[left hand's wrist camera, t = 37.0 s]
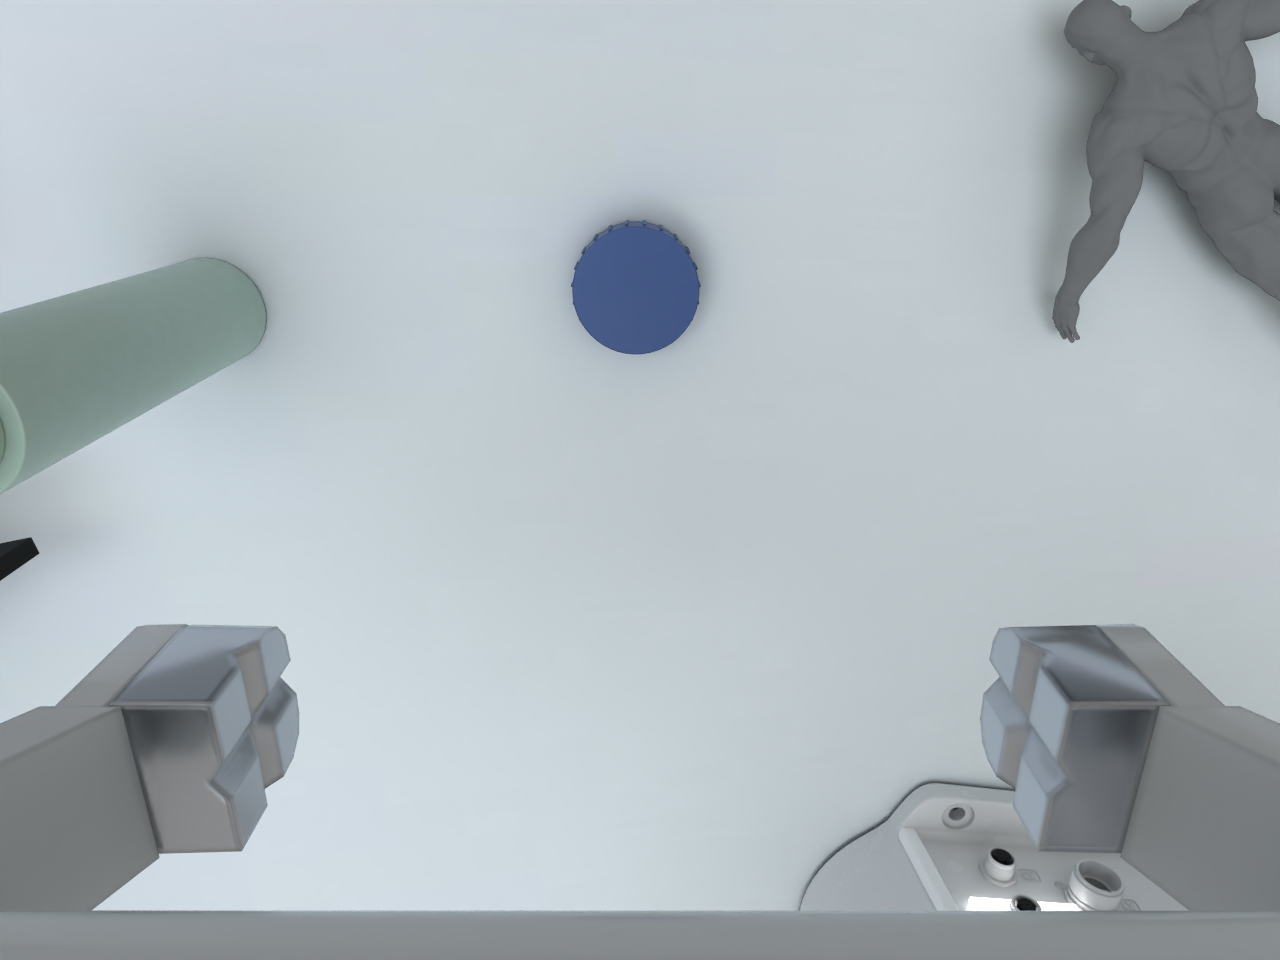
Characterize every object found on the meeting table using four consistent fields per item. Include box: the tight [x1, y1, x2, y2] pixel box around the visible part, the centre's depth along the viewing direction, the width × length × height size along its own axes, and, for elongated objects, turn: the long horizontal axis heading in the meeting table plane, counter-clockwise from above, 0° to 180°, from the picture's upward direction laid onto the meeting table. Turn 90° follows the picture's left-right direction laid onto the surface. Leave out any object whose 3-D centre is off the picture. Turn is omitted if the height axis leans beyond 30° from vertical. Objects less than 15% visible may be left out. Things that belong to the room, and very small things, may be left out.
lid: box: [571, 220, 700, 354], centre depth 36 cm, size 5×5×2 cm
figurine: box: [1052, 0, 1280, 343], centre depth 34 cm, size 17×4×20 cm
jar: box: [0, 258, 266, 494], centre depth 29 cm, size 4×4×18 cm
